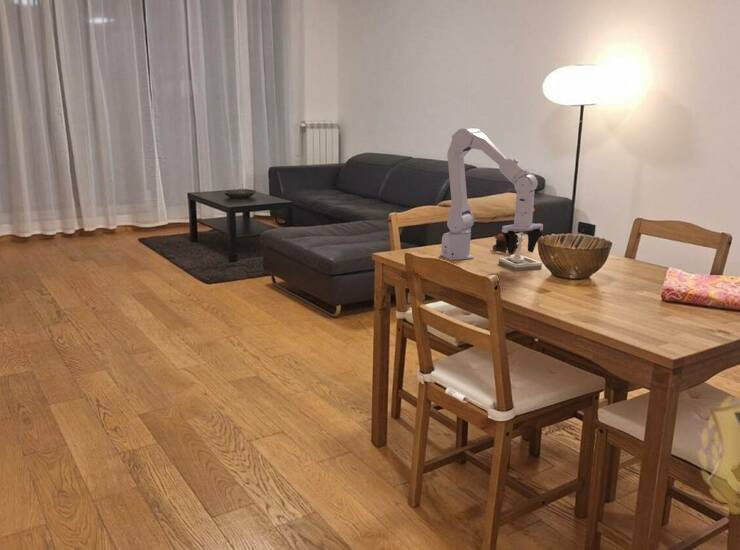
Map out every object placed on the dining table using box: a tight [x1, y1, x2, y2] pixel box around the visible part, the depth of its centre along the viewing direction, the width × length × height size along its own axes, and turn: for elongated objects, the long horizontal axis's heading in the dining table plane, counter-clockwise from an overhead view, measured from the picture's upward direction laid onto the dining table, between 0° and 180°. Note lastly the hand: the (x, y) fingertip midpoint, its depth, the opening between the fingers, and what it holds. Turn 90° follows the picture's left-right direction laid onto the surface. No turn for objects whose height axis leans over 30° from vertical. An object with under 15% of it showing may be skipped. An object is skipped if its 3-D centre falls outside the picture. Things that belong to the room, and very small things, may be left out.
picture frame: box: [498, 255, 543, 272], centre depth 218 cm, size 10×10×2 cm
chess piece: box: [509, 231, 526, 263], centre depth 217 cm, size 5×5×10 cm
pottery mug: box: [492, 230, 519, 254], centre depth 239 cm, size 12×10×8 cm
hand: (520, 252), depth 217 cm, fingers open, 7 cm apart
